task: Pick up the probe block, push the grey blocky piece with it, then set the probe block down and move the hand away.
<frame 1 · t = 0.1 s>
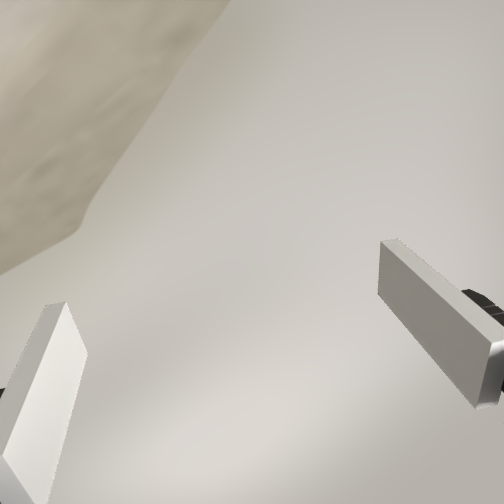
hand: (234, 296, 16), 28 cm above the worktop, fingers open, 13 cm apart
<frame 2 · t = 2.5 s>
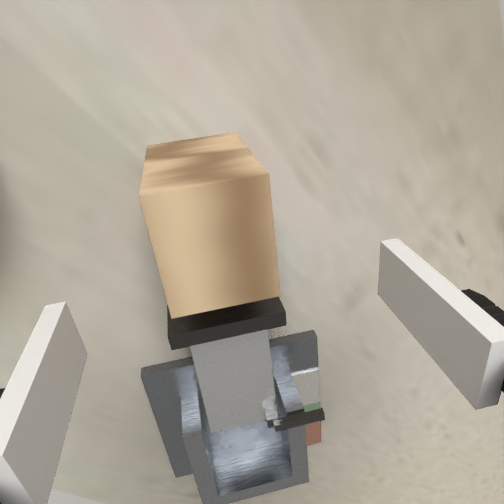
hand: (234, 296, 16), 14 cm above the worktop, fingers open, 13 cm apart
probe block: (200, 187, 28), on the worktop
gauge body: (239, 400, 39), on the worktop
grey blocky piece: (251, 363, 32), point 4 cm above the worktop, slide at 0.0 cm
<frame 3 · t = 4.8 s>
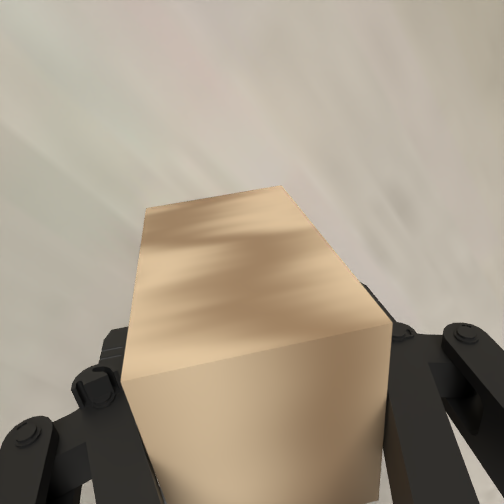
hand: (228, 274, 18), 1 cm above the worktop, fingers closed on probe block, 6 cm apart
probe block: (226, 265, 19), on the worktop, touching gripper
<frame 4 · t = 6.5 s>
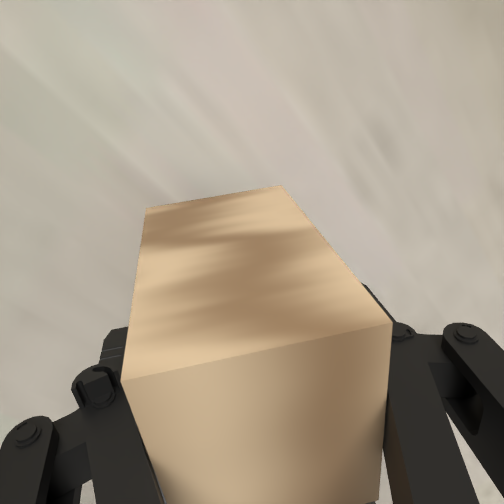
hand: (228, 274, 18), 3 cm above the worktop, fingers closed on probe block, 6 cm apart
probe block: (226, 264, 19), point 2 cm above the worktop, touching gripper
grey blocky piece: (279, 442, 23), point 4 cm above the worktop, slide at 0.0 cm
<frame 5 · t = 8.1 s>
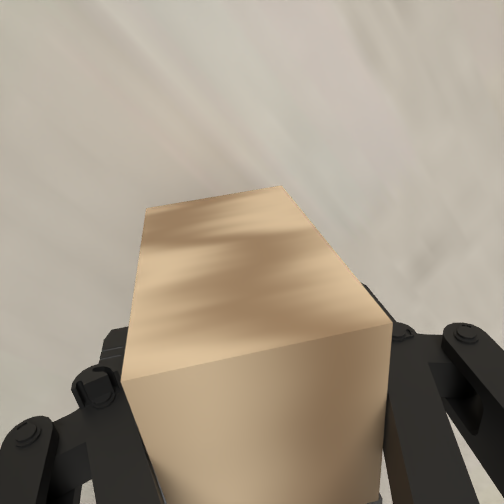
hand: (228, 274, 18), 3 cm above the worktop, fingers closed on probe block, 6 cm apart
probe block: (226, 265, 19), point 2 cm above the worktop, touching gripper, grey blocky piece
grey blocky piece: (280, 430, 22), point 4 cm above the worktop, slide at 5.4 cm, touching probe block
when the fingers open (2 cm above the worktop, at t = 9.9 s): probe block stays where it is, on the worktop.
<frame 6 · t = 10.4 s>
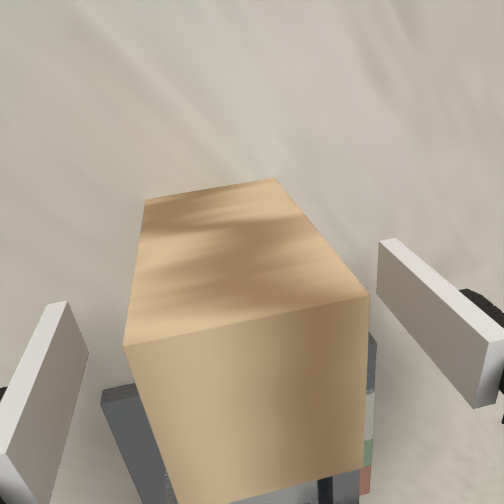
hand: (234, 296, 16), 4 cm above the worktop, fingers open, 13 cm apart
probe block: (222, 254, 20), on the worktop
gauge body: (253, 436, 26), on the worktop
grey blocky piece: (285, 456, 22), point 4 cm above the worktop, slide at 5.4 cm
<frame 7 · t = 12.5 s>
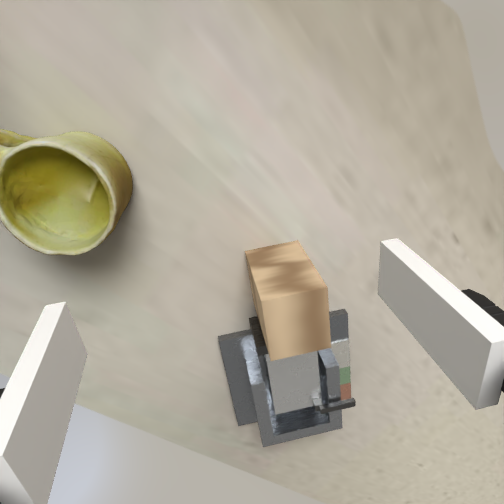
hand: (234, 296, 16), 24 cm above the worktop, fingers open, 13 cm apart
probe block: (275, 272, 45), on the worktop
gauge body: (287, 364, 51), on the worktop
grey blocky piece: (304, 365, 46), point 4 cm above the worktop, slide at 5.4 cm
mug: (67, 165, 36), on the worktop
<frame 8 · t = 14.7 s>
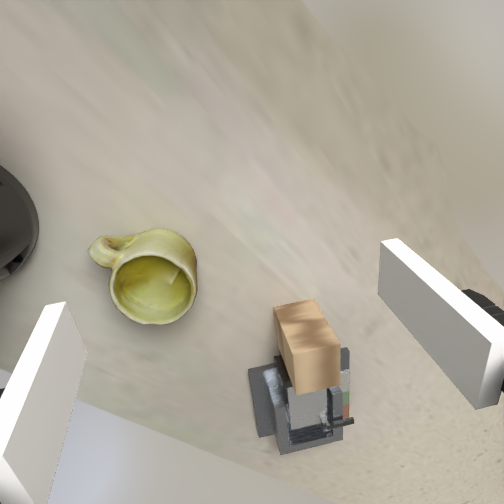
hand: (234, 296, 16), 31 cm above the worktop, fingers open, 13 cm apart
probe block: (295, 321, 58), on the worktop
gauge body: (300, 389, 64), on the worktop
grey blocky piece: (315, 392, 60), point 4 cm above the worktop, slide at 5.4 cm
mug: (147, 249, 48), on the worktop
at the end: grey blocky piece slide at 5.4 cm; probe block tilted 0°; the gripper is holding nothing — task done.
